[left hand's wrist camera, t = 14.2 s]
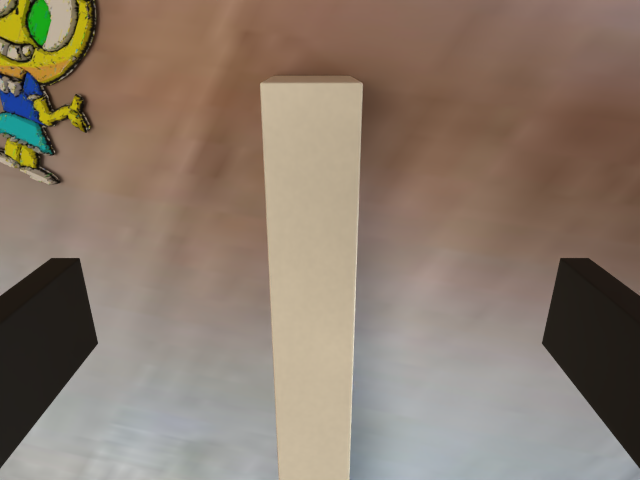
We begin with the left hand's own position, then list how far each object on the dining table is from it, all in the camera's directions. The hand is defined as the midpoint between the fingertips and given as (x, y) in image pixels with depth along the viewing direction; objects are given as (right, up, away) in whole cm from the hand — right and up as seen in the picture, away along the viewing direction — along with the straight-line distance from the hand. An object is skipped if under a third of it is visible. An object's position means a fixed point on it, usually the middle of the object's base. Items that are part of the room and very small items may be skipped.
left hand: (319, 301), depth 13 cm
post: (0, -16, +28) cm, 32 cm away
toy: (-18, +14, +15) cm, 27 cm away
